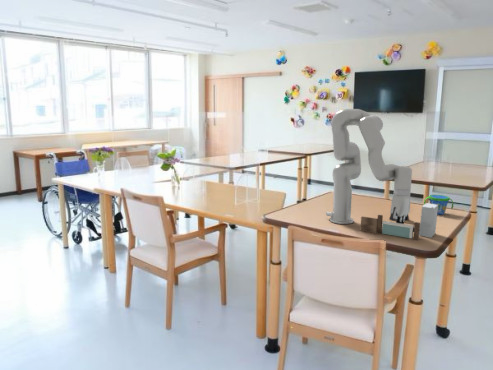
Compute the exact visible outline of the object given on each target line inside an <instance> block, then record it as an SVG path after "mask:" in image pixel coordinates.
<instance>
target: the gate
mask: <svg viewBox="0 0 493 370" xmlns="http://www.w3.org/2000/svg"><path fill="white" fill-rule="evenodd" d="M413 228H414V225H413V224H408V223H404V224H401V223H396V222H395V221H394V222H393V221H386V220H383V221H382V234H383V235H390V236H397V237H401V238H407V239H413V238H414V232H413Z"/></svg>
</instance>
